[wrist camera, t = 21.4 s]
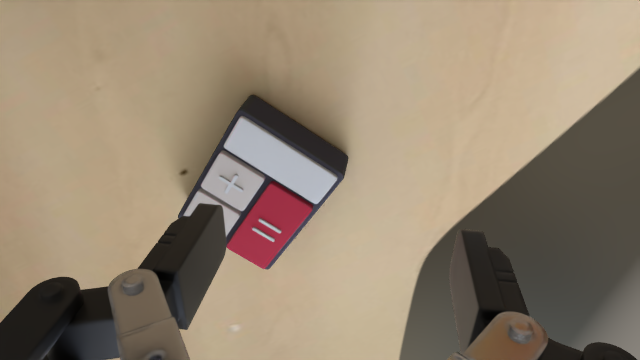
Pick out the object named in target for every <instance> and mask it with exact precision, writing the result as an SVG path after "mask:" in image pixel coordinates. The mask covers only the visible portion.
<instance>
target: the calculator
mask: <svg viewBox="0 0 640 360" xmlns="http://www.w3.org/2000/svg"><path fill="white" fill-rule="evenodd" d="M347 163H348V156H347V155H346V154H344V153H343V152H341V151H340V150H338V149H337V148H335V147H333V146H332V145H330V144H329V143H327V142H326V141H324V140H323V139H321V138H320V137H318V136H316V135H315V134H313V133H312V132H310V131H309V130H307V129H306V128H304V127H303V126H301V125H300V124H298V123H296V122H295V121H293V120H292V119H290V118H289V117H287V116H286V115H284V114H283V113H281V112H279V111H278V110H276V109H275V108H273V107H272V106H270V105H269V104H267V103H266V102H264V101H263V100H261V99H259V98H258V97H256V96H254V95H251V96H249V98H248V99H247V100H246V101H245V102H244V104H243V105H242V106H241V107H240V108H239V110H238V111H237V113H236V114H235V116H234V118H233V120H232V121H231V123H230V125H229V127H228V128H227V130H226V132H225V134H224V135H223V137H222V139H221V141H220V143H219V144H218V146H217V148H216V150H215V151H214V153H213V155H212V157H211V158H210V160H209V162H208V164H207V165H206V167H205V169H204V171H203V172H202V174H201V176H200V178H199V179H198V181H197V183H196V185H195V186H194V188H193V190H192V192H191V193H190V195H189V197H188V199H187V200H186V202H185V204H184V206H183V207H182V209H181V211H180V213H179V215H178V218H180V217H182V216H190V215H191V214H192V212H193V211H194V210H195V208H196V207H197V205H198V204H199V203H204V204H215V205H221V206H222V207H223V212H224V222H225V232H226V247H227V248H228V249H230V250H231V251H233V252H235V253H236V254H238V255H240V256H242V257H243V258H245V259H247V260H249V261H250V262H252V263H254V264H256V265H257V266H259V267H261V268H263V269H269V268H270V267H271V266H272V265H273V264H274V263H275V261H276V260H277V259H278V258H279V257H280V255H281V254H282V253H283V252H284V250H285V249H286V248H287V247H288V246H289V244H290V243H291V242H292V241H293V239H294V238H295V237H296V236H297V235H298V233H299V232H300V231H301V230H302V228H303V227H304V226H305V225H306V224H307V222H308V221H309V220H310V219H311V218H312V216H313V215H314V214H315V213H316V211H317V210H318V209H319V208H320V207H321V205H322V204H323V203H324V202H325V200H326V199H327V198H328V197H329V196H330V194H331V193H332V192H333V191H334V189H335V188H336V187H337V186H338V185H339V183H340V182H341V181H342V180H343V178H344V175H345V171H346V167H347Z"/></svg>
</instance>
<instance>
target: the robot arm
mask: <svg viewBox="0 0 640 360" xmlns="http://www.w3.org/2000/svg"><path fill="white" fill-rule="evenodd" d="M225 251H226V232H225V222H224V212H223V207H222V206H221V205H215V204H204V203H199V204H198V205H197V207H196V208H195V210H194V211H193V212H192V214H191V215H190V216H182V217H180V218H179V219H177V220H176V221H174V222H173V223H171V225H170V226H169V227H168V229H167V230H166V231H165V233H164V235H162V237H161V238H160V239H159V241H158V243H156V245H155V246H154V247H153V249H152V250H151V251H150V253H149V254H148V255H147V257H146V258H145V259H144V261H143V262H142V263H141V265H140V266H139V267H138V269H133V270H129V271H126V272H124V273H122V274H120V275H118V276H117V277H116V278H114V279H113V280H112V281H111V283H110V284H109V286H108V287H101V288H93V289H85V290H80V287H79V284H78V282H77V281H76V280H75V279H73V278H70V277H57V278H52V279H49V280H46V281H44V282H42V283H40V284H38V285H36V286H35V287H33V288H32V289H31V290H30V291H29V292H28V293H27V294H26V295H25V296H24V297H23V299H22V300H21V301H20V302H19V303H18V304H17V305H16V306H15V307H14V308H13V310H12V311H11V312H10V313H9V314H8V315H7V316H6V317H5V318H4V319H3V321H2V322H1V323H0V360H106V359H113V358H119V357H120V360H190V358H189V355H188V353H187V350H186V347H185V344H184V342H183V339H182V336H181V333H180V331H179V329H185V330H187V329H188V327H189V325H190V323H191V321H192V319H193V317H194V315H195V313H196V311H197V309H198V307H199V306H200V304H201V302H202V300H203V298H204V296H205V294H206V292H207V290H208V288H209V286H210V284H211V282H212V280H213V278H214V276H215V274H216V272H217V270H218V268H219V266H220V264H221V262H222V260H223V258H224V255H225ZM449 283H450V290H451V296H452V302H453V308H454V314H455V320H456V327H457V333H458V339H459V345H460V351H461V354H460V353H459V352H455V353H453V354H452V355H451V356H450V357H449V358H448V359H447V360H637V359H636V358H635V357H634V356H632V355H631V354H630V353H628V352H626V351H625V350H623V349H621V348H619V347H617V346H614V345H611V344H607V343H601V342H597V343H591V344H589V345H587V346H586V347H585V349H584V351H583V352H582V351H579V350H576V349H574V348H571V347H568V346H565V345H562V344H560V343H558V342H555V341H553V340H552V339H550V338H548V335H547V333H546V331H545V329H544V328H543V327H542V326H541V325H540V324H539V323H538V322H537V321H536V320H534V319H533V318H531V317H530V316H529V313H528V310H527V308H526V305H525V302H524V299H523V296H522V294H521V291H520V288H519V285H518V283H517V280H516V277H515V274H514V273H513V269H512V266H511V263H510V260H509V259H508V258H507V256H506V255H505V254H504V253H503V252H502V251H501V250H500V249H499V248H491V247H488V245H487V242H486V238H485V235H484V232H483V231H475V230H465V229H459V230H458V233H457V237H456V242H455V246H454V250H453V255H452V260H451V264H450V272H449Z"/></svg>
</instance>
